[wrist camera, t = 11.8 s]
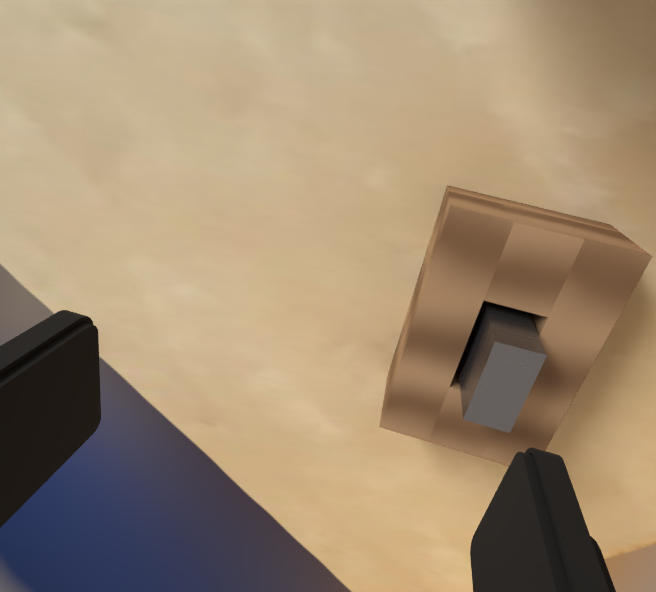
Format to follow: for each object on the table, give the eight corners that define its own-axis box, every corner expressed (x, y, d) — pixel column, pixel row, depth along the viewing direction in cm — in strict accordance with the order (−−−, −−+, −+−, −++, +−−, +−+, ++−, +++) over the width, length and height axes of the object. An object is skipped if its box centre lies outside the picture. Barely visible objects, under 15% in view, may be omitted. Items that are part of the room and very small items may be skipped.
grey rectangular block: (480, 283, 35) (495, 341, 27) (520, 293, 34) (547, 355, 26) (456, 348, 37) (463, 419, 29) (493, 358, 37) (509, 432, 29)
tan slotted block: (447, 185, 34) (450, 206, 28) (610, 225, 33) (652, 256, 27) (387, 377, 42) (379, 427, 36) (517, 414, 41) (532, 472, 35)
